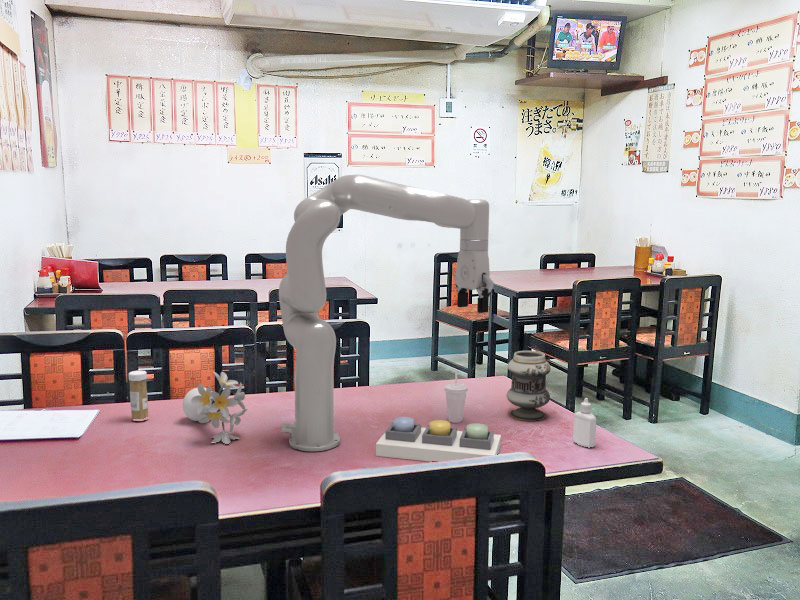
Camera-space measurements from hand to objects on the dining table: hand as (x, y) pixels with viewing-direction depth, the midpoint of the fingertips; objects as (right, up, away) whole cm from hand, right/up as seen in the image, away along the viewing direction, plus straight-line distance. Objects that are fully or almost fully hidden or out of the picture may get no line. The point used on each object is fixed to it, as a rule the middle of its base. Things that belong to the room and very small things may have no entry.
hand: (472, 309), depth 179 cm
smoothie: (-4, -31, +3) cm, 31 cm away
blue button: (-19, -29, -17) cm, 39 cm away
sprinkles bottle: (-90, -30, +1) cm, 96 cm away
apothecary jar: (+16, -30, +8) cm, 35 cm away
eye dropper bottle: (+26, -34, -14) cm, 45 cm away
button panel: (-10, -34, -19) cm, 40 cm away
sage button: (-1, -30, -22) cm, 37 cm away
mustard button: (-10, -29, -20) cm, 37 cm away
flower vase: (-69, -32, -6) cm, 76 cm away
